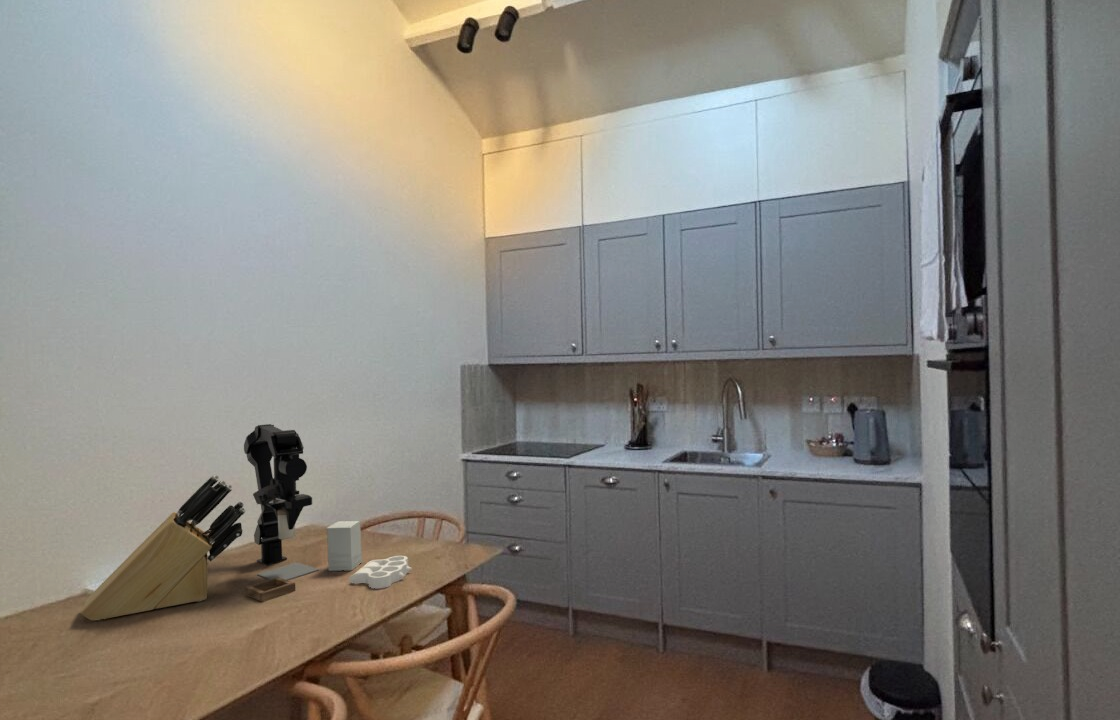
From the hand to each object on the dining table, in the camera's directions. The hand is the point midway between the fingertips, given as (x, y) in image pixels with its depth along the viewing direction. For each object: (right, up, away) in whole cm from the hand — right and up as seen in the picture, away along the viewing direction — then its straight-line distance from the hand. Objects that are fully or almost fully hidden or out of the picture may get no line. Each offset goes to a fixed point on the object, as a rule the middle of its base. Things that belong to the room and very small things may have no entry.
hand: (286, 528), depth 176 cm
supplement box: (+16, -13, +4) cm, 21 cm away
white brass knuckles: (+30, -13, -6) cm, 33 cm away
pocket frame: (+3, -13, -15) cm, 20 cm away
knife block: (-21, -14, -19) cm, 32 cm away
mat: (+1, -13, 0) cm, 13 cm away
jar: (0, -3, 0) cm, 3 cm away
